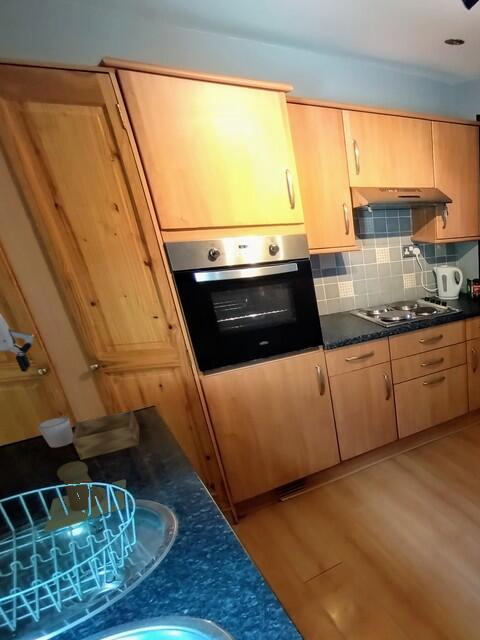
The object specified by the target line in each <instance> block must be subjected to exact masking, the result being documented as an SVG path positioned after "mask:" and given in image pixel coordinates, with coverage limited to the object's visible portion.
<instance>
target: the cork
mask: <svg viewBox="0 0 480 640" xmlns="http://www.w3.org/2000/svg"><path fill="white" fill-rule="evenodd" d="M88 471H89V468H88V465H87V464H86V463H85V462H83V461H78V460H77V461H75V460H74V461H70V462H67V463H65V464H63V465H61V466H60V467H59V468H58V469H57V471H56V475H57V477H58V478H59V479H60V480H61V481H63V483H64V486H65V485H68V484H80V483H94V481H93V480H92V479H91V477H90V476H89V474H88ZM97 487H98V486H96V485H95V486H92V487H91V489H92V492H91V507H94V506H96V505H97V503H96V499H95V496H97V498H98V500H99V503H100V502H101V501H102V500H103V498H104V497H103V496H102V494H101V493H100V492H99V490H98V489H97ZM65 490H66V496H67V495H68V499H69V503H70V507H71V509H72V510H73V511H81V510H86V509H88V497H89V489H88V486H87V485H79V486H66V487H65ZM77 493H78V495H79V497H78V495H77ZM79 498H80V499H79Z"/></svg>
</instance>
